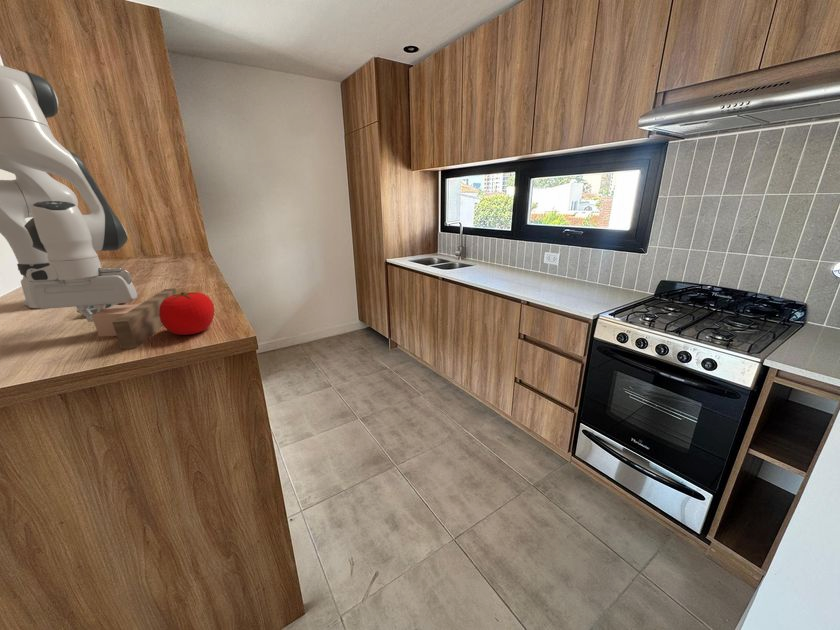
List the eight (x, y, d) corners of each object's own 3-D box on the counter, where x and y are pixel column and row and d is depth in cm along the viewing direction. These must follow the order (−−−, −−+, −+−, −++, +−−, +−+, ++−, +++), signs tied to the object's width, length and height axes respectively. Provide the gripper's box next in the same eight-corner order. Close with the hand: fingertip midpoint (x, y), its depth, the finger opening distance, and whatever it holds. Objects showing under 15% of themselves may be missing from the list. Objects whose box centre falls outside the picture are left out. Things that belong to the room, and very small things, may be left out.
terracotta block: (120, 325, 93) (113, 305, 91) (151, 323, 94) (145, 303, 92) (99, 336, 85) (91, 314, 83) (133, 334, 86) (126, 313, 84)
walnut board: (170, 310, 105) (164, 289, 103) (181, 309, 106) (175, 288, 104) (121, 349, 78) (112, 322, 76) (136, 347, 79) (127, 320, 77)
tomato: (160, 344, 81) (147, 301, 77) (171, 326, 92) (160, 288, 88) (215, 336, 86) (206, 295, 82) (220, 320, 97) (211, 283, 93)
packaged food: (79, 319, 98) (73, 303, 96) (98, 307, 108) (93, 293, 106) (116, 315, 101) (111, 300, 99) (131, 304, 111) (127, 290, 110)
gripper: (133, 264, 88) (148, 313, 93) (36, 269, 83) (57, 320, 87) (121, 269, 83) (137, 320, 87) (16, 274, 77) (39, 329, 82)
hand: (96, 320), depth 87 cm, fingers closed
